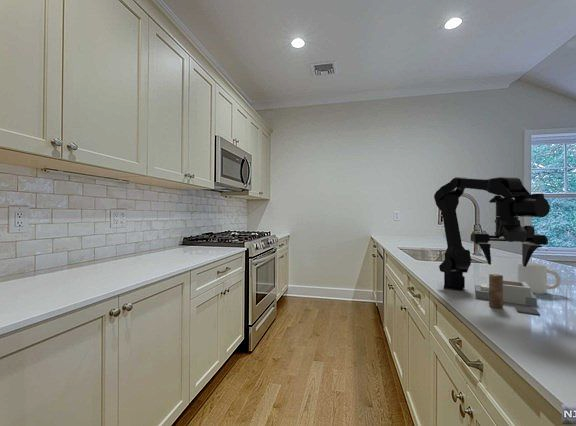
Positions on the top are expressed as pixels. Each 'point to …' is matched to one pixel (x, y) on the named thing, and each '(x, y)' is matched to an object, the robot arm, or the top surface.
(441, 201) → the robot arm
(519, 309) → the pad
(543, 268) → the mug
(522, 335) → the top surface
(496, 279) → the dowel
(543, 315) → the top surface
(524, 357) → the top surface
